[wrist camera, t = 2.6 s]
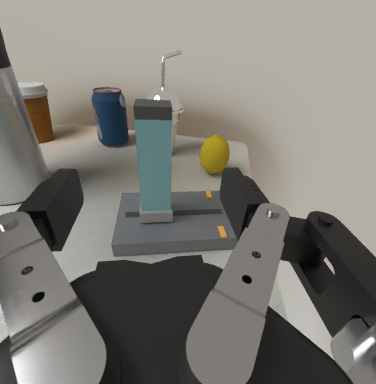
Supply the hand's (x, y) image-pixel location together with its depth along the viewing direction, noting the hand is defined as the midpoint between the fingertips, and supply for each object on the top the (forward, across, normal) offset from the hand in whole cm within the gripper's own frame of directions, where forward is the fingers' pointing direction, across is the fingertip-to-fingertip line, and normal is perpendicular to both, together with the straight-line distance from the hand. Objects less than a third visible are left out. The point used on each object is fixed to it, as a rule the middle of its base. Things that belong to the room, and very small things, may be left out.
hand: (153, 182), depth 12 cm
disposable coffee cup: (+44, +28, +14) cm, 54 cm away
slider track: (+12, -2, +14) cm, 19 cm away
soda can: (+42, +10, +14) cm, 45 cm away
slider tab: (+12, 0, +12) cm, 17 cm away
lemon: (+26, -11, +14) cm, 32 cm away
